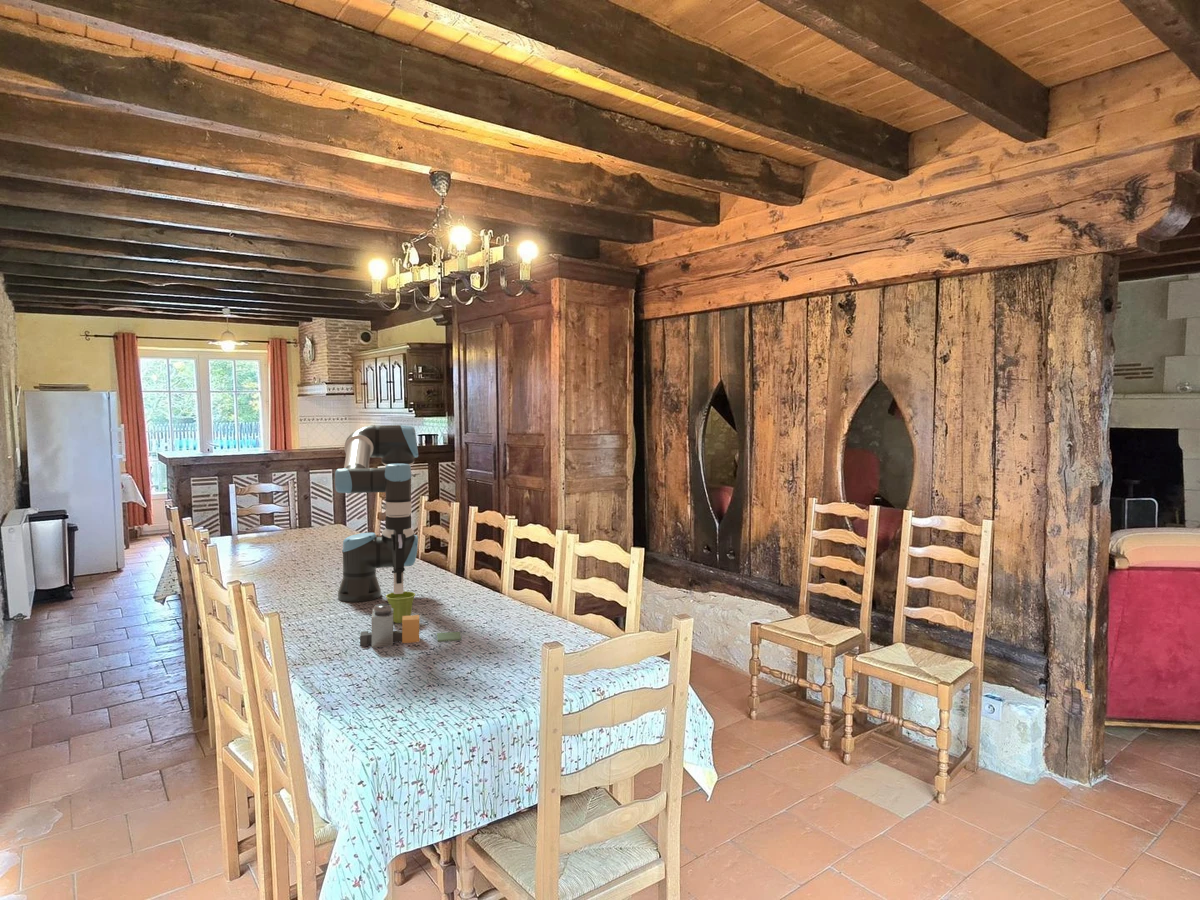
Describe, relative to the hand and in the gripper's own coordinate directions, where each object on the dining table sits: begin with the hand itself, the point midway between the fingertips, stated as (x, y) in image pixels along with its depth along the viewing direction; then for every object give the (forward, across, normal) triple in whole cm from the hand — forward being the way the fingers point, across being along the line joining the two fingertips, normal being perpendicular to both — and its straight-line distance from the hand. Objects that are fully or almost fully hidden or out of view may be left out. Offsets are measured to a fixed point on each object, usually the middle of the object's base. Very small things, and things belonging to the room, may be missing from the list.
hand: (398, 593), depth 213 cm
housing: (+15, -1, -4) cm, 15 cm away
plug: (+15, -1, -2) cm, 15 cm away
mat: (+15, +1, +15) cm, 21 cm away
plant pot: (+15, -21, +3) cm, 26 cm away
